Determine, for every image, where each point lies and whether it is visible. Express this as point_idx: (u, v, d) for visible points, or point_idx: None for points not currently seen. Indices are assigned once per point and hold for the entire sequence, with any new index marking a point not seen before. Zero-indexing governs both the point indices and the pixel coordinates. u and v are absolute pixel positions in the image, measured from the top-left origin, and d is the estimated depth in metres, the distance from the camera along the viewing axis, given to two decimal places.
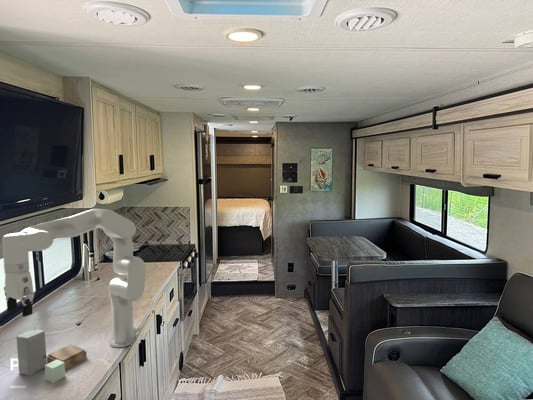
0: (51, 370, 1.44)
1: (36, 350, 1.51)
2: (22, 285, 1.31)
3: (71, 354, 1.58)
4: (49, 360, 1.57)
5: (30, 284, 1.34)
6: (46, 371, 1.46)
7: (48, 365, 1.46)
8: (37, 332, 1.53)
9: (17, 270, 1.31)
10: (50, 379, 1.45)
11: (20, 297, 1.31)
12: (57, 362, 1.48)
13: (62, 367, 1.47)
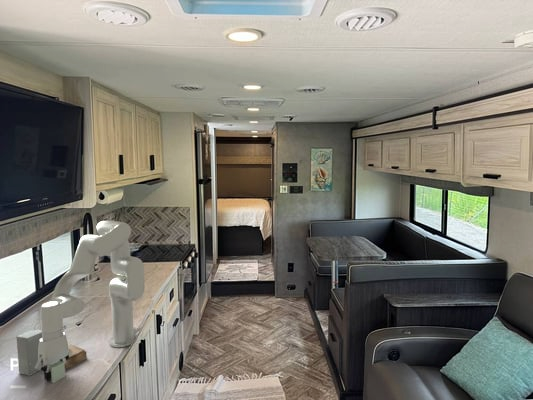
0: (51, 370, 1.44)
1: (36, 350, 1.51)
2: None
3: (71, 354, 1.58)
4: None
5: None
6: None
7: None
8: (37, 332, 1.53)
9: (63, 331, 1.48)
10: None
11: (68, 352, 1.50)
12: (57, 362, 1.48)
13: (62, 366, 1.48)
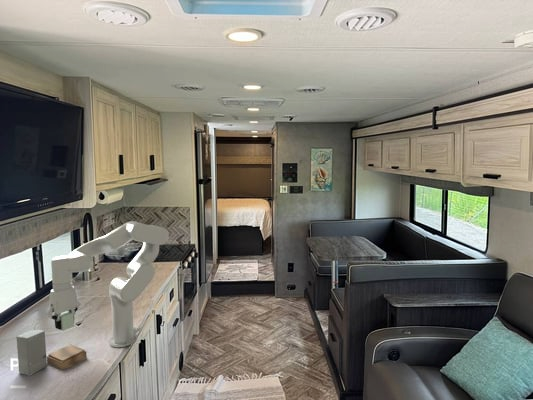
0: (61, 319, 1.55)
1: (36, 350, 1.51)
2: None
3: (71, 354, 1.58)
4: (49, 360, 1.57)
5: None
6: None
7: None
8: (37, 332, 1.53)
9: (72, 284, 1.59)
10: None
11: (76, 304, 1.61)
12: (66, 312, 1.59)
13: (71, 317, 1.58)
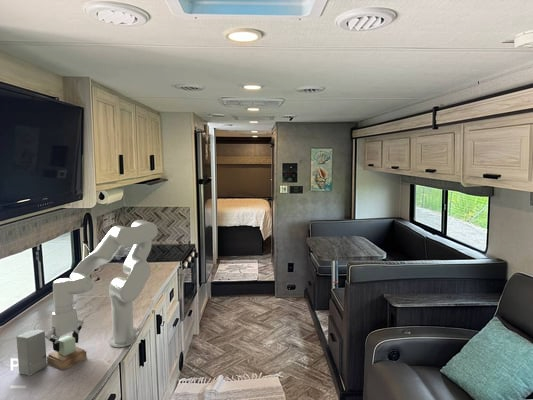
0: (63, 344, 1.56)
1: (36, 350, 1.51)
2: None
3: (71, 354, 1.58)
4: (49, 360, 1.57)
5: None
6: None
7: (60, 340, 1.58)
8: (37, 332, 1.53)
9: (73, 306, 1.60)
10: (62, 352, 1.57)
11: (77, 326, 1.62)
12: (68, 337, 1.60)
13: (73, 341, 1.60)
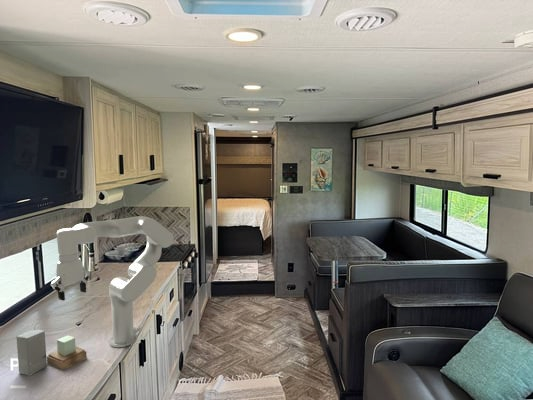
0: (63, 344, 1.56)
1: (36, 350, 1.51)
2: None
3: (71, 354, 1.58)
4: (49, 360, 1.57)
5: None
6: (58, 345, 1.58)
7: (60, 340, 1.58)
8: (37, 332, 1.53)
9: (78, 256, 1.59)
10: (62, 352, 1.57)
11: (83, 277, 1.61)
12: (68, 337, 1.60)
13: (73, 341, 1.60)
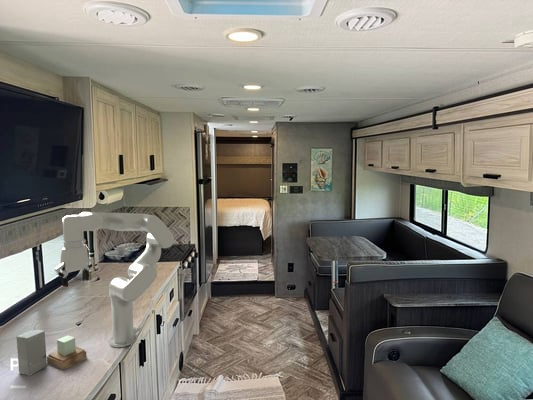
0: (63, 344, 1.56)
1: (36, 350, 1.51)
2: None
3: (71, 354, 1.58)
4: (49, 360, 1.57)
5: None
6: (58, 345, 1.58)
7: (60, 340, 1.58)
8: (37, 332, 1.53)
9: (83, 243, 1.59)
10: (62, 352, 1.57)
11: (87, 264, 1.61)
12: (68, 337, 1.60)
13: (73, 341, 1.60)
